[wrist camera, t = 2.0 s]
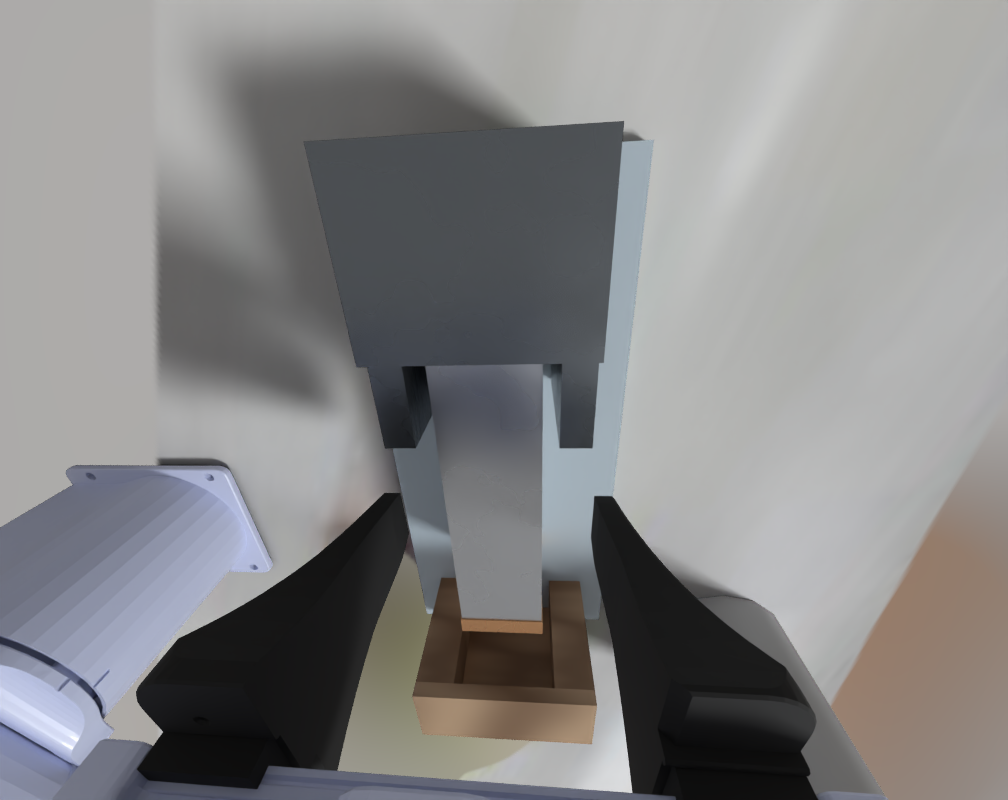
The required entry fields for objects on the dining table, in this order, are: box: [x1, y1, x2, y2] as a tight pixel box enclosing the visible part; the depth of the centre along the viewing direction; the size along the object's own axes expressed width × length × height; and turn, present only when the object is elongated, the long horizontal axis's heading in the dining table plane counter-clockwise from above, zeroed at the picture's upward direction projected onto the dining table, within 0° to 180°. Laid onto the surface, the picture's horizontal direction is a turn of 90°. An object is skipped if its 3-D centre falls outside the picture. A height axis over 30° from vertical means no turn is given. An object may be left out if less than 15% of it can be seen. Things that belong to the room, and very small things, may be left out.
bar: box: [425, 364, 543, 634], centre depth 15 cm, size 4×17×5 cm, turn 2°
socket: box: [412, 578, 597, 744], centre depth 20 cm, size 8×4×6 cm, turn 92°
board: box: [393, 140, 654, 620], centre depth 18 cm, size 11×25×1 cm, turn 2°
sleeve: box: [304, 121, 624, 448], centre depth 12 cm, size 6×8×6 cm
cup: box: [697, 596, 885, 797], centre depth 20 cm, size 8×8×10 cm
